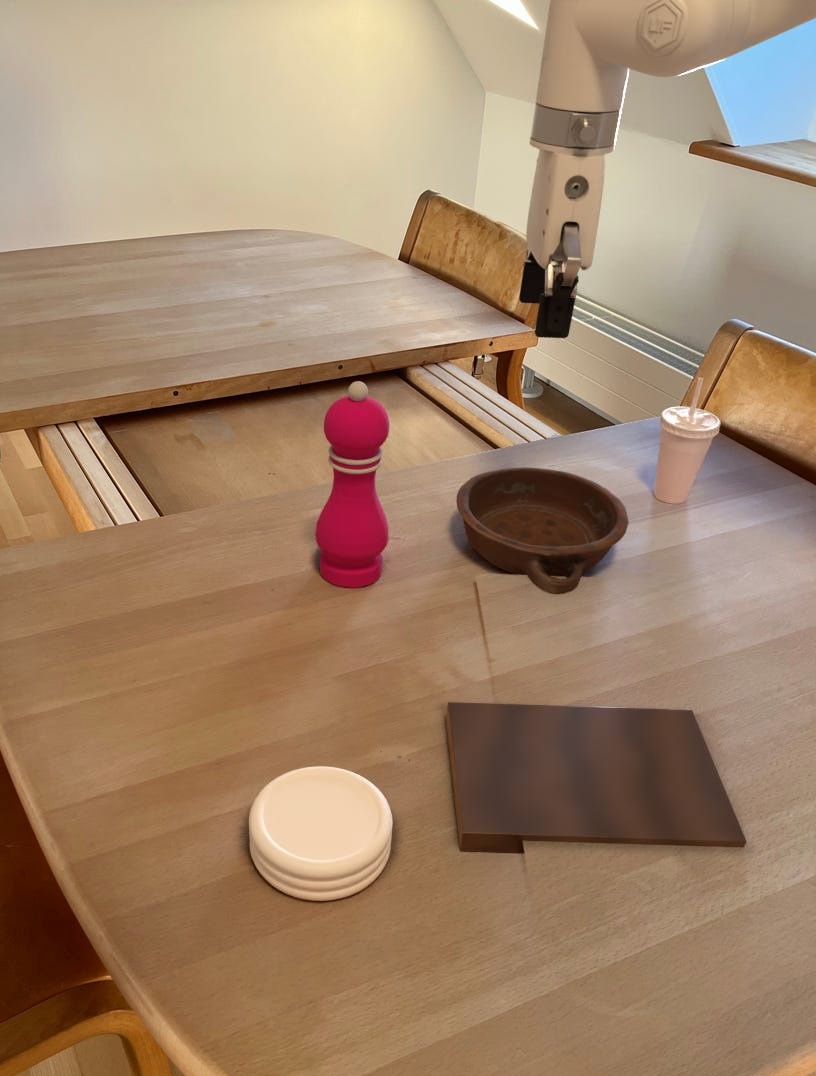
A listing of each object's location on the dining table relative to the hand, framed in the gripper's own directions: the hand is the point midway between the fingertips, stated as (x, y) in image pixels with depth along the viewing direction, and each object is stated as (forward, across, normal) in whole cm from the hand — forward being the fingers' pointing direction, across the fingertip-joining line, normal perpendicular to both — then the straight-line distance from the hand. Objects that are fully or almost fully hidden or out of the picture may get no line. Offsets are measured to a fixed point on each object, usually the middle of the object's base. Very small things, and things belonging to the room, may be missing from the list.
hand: (542, 318), depth 97 cm
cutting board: (+21, -44, +1) cm, 49 cm away
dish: (+21, -9, -1) cm, 23 cm away
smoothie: (+21, +3, -19) cm, 28 cm away
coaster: (+21, -51, +21) cm, 59 cm away
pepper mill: (+21, -15, +18) cm, 32 cm away
